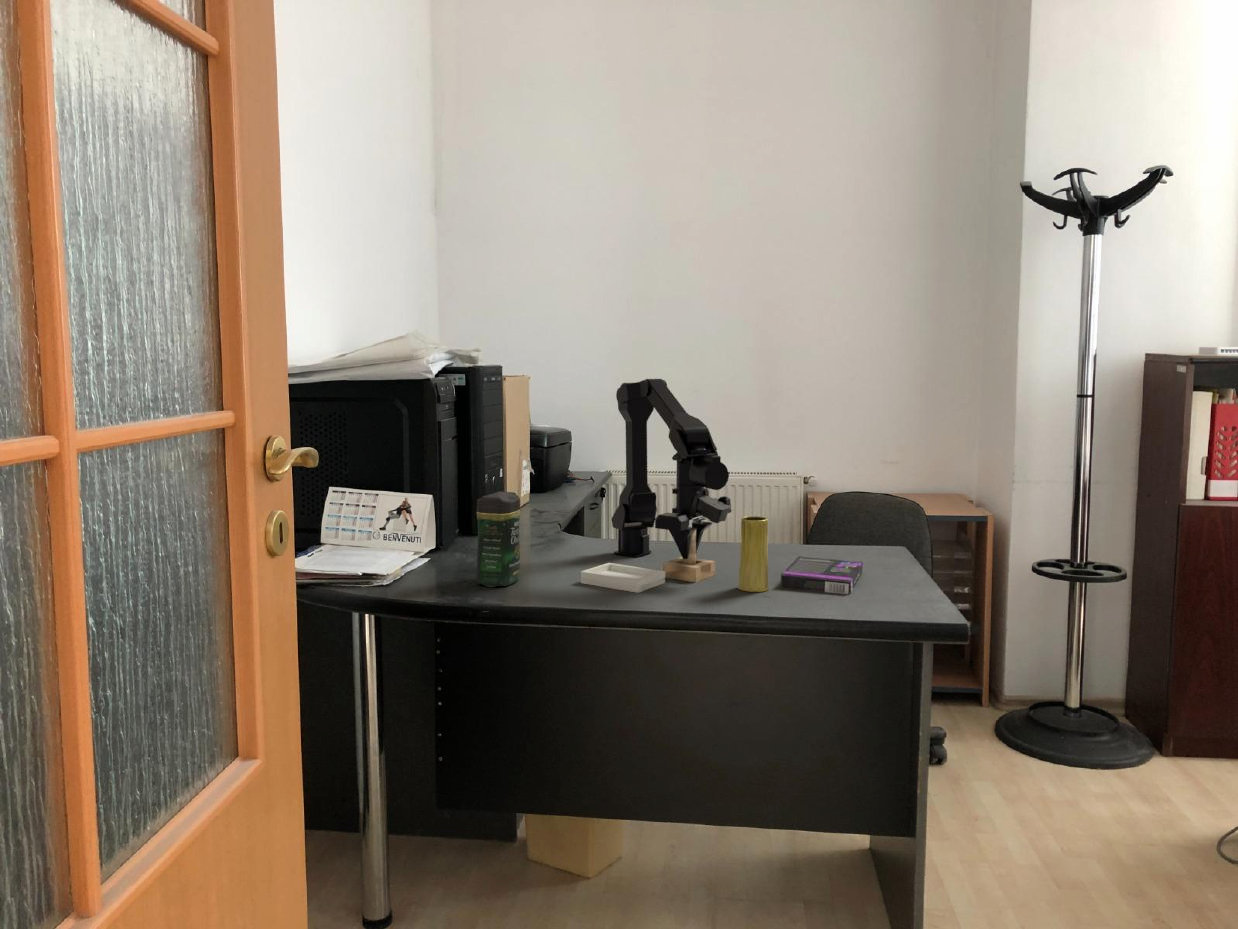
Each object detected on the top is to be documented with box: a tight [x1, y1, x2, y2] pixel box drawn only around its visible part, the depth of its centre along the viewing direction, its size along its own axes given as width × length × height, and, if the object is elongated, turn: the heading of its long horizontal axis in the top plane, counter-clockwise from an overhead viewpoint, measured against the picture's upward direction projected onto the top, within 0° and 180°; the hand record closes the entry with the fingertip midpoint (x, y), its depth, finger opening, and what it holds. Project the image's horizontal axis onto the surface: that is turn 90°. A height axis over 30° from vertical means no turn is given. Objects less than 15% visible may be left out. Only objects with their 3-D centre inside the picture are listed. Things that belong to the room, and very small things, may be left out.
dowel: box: [682, 530, 697, 565], centre depth 208 cm, size 3×3×10 cm
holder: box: [662, 556, 716, 583], centre depth 208 cm, size 8×8×3 cm
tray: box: [580, 562, 666, 594], centre depth 202 cm, size 14×10×2 cm
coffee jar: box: [476, 490, 522, 588], centre depth 201 cm, size 10×8×19 cm
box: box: [780, 555, 864, 595], centre depth 205 cm, size 14×4×20 cm
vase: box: [737, 515, 769, 593], centre depth 197 cm, size 6×6×14 cm
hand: (689, 557), depth 208 cm, fingers closed on dowel, 3 cm apart
